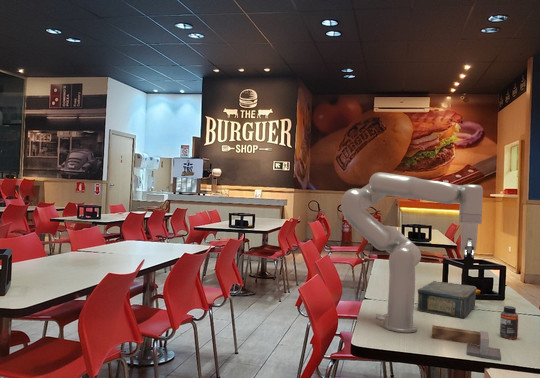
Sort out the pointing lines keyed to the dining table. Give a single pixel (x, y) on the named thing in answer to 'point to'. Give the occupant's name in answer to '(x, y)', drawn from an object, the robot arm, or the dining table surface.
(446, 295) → the metal box
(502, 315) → the supplement bottle
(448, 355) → the dining table surface
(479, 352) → the stand
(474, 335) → the beam
